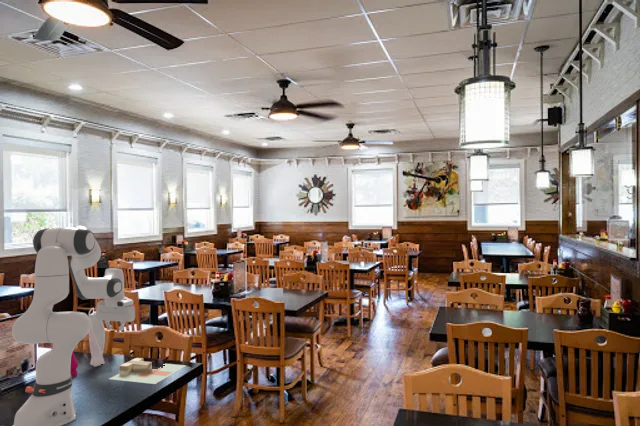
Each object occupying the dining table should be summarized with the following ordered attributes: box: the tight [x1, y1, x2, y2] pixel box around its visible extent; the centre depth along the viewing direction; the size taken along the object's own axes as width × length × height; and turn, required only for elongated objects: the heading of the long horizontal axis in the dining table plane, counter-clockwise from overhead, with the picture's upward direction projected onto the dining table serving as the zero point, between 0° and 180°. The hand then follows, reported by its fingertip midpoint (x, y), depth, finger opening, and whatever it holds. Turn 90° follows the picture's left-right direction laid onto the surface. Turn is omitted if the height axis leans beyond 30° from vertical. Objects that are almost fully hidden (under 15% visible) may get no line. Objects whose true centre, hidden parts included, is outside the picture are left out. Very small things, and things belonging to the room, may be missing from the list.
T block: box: [118, 357, 153, 375], centre depth 213 cm, size 12×12×4 cm
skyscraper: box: [88, 307, 106, 368], centre depth 224 cm, size 8×7×28 cm
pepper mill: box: [70, 347, 79, 378], centre depth 209 cm, size 7×7×20 cm
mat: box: [108, 363, 187, 385], centre depth 211 cm, size 24×25×1 cm
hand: (115, 329), depth 216 cm, fingers open, 5 cm apart
